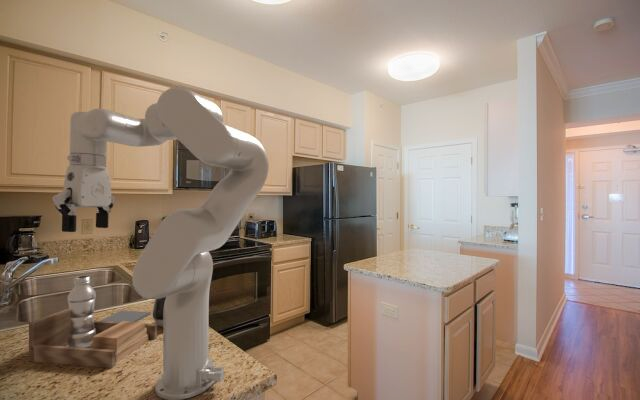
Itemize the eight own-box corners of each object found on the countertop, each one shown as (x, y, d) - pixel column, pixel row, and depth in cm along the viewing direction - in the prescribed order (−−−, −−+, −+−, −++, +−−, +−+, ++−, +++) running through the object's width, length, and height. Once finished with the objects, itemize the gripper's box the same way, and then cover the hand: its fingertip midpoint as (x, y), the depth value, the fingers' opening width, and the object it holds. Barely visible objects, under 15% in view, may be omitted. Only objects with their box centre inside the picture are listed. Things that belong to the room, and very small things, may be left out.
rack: (156, 337, 93) (156, 304, 93) (112, 367, 76) (112, 327, 76) (86, 332, 96) (86, 301, 96) (28, 361, 80) (28, 322, 80)
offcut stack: (148, 341, 91) (148, 320, 91) (116, 362, 79) (116, 339, 79) (123, 339, 92) (123, 319, 92) (88, 360, 80) (88, 337, 80)
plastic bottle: (78, 354, 83) (78, 281, 83) (61, 350, 85) (61, 278, 85) (102, 344, 89) (102, 275, 89) (85, 340, 91) (85, 273, 91)
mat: (150, 313, 113) (150, 312, 113) (125, 327, 101) (125, 325, 101) (121, 312, 114) (121, 310, 114) (93, 325, 102) (93, 323, 102)
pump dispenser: (165, 333, 96) (165, 285, 96) (146, 326, 101) (146, 280, 101) (193, 322, 105) (193, 278, 105) (174, 316, 110) (174, 274, 110)
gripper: (70, 158, 69) (68, 234, 69) (126, 166, 86) (125, 227, 86) (40, 157, 70) (38, 232, 70) (102, 165, 87) (100, 225, 87)
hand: (86, 229), depth 78 cm, fingers open, 9 cm apart
